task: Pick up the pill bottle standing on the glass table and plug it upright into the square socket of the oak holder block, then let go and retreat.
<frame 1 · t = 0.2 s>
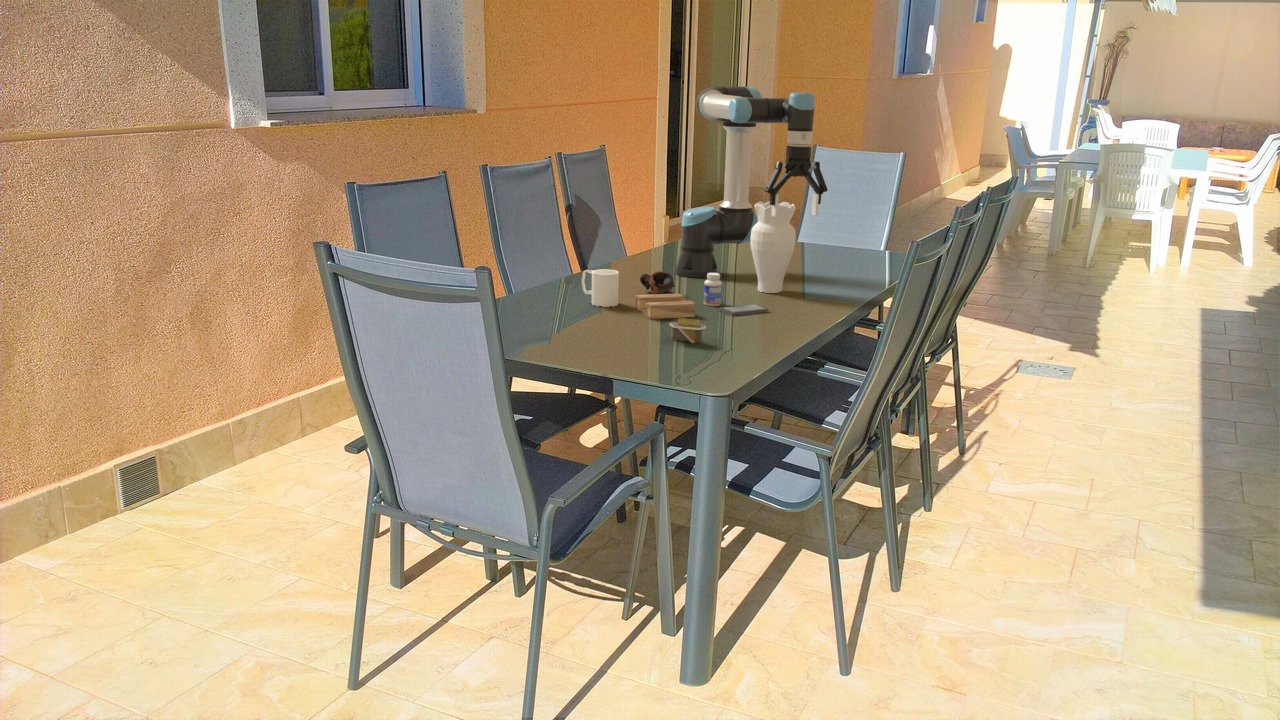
hand: (794, 215, 312), 28 cm above the table, fingers open, 13 cm apart
cup: (599, 303, 313), on the table
pottery mug: (656, 293, 329), on the table
phone slab: (743, 311, 307), on the table
socket holder: (664, 312, 303), on the table
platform: (686, 344, 272), on the table
pill bottle: (712, 305, 315), on the table
vase: (769, 291, 336), on the table
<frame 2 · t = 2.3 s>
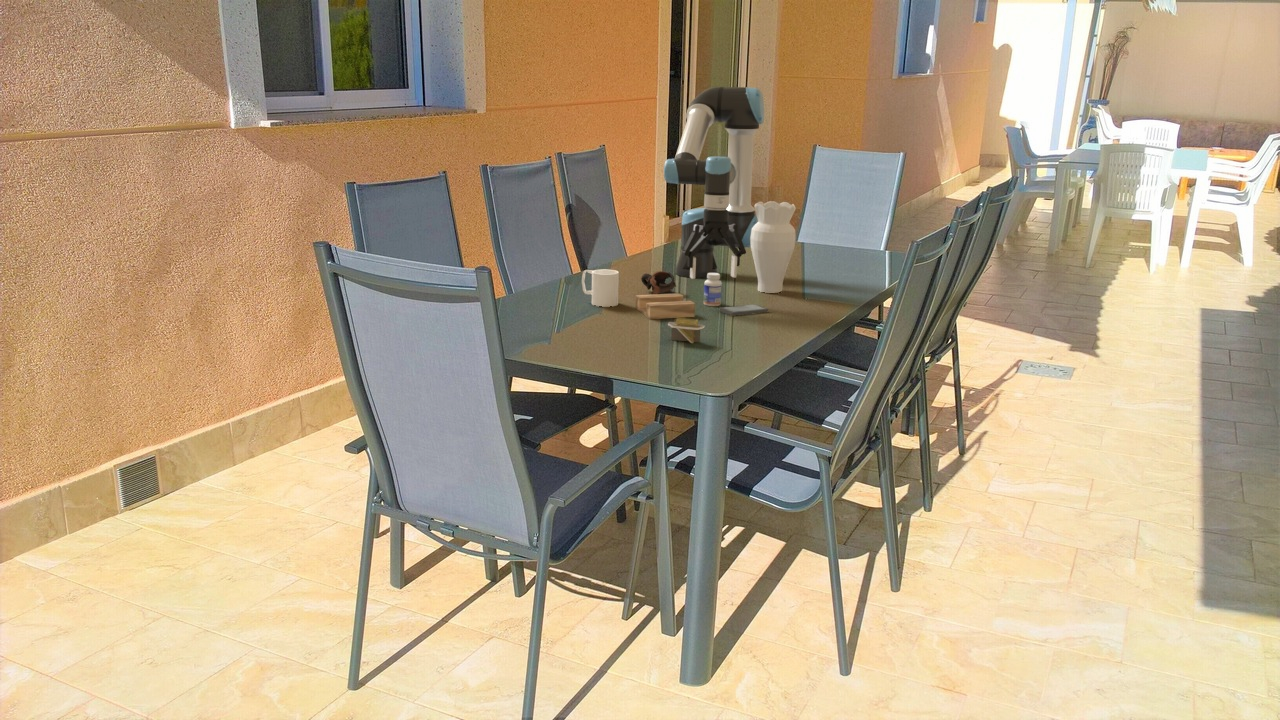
hand: (713, 277, 312), 9 cm above the table, fingers open, 13 cm apart
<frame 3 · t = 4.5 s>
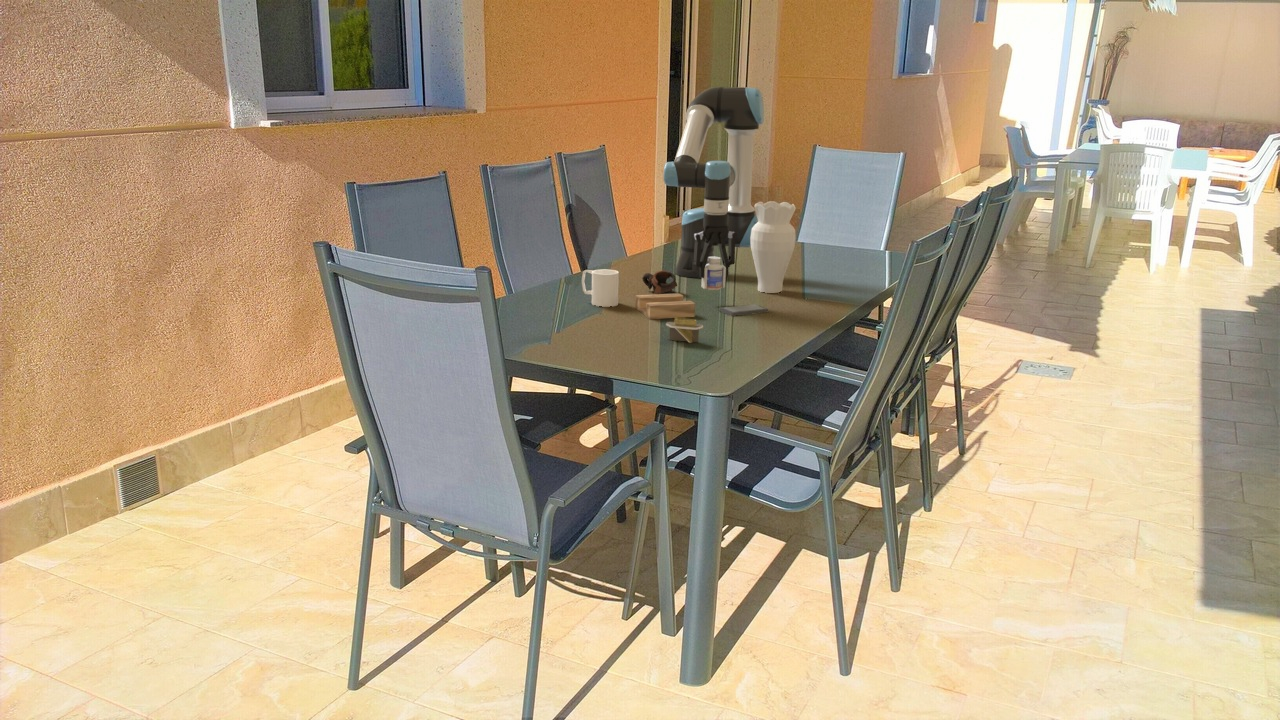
hand: (713, 287, 314), 5 cm above the table, fingers closed on pill bottle, 5 cm apart
pill bottle: (713, 288, 315), point 5 cm above the table, touching gripper
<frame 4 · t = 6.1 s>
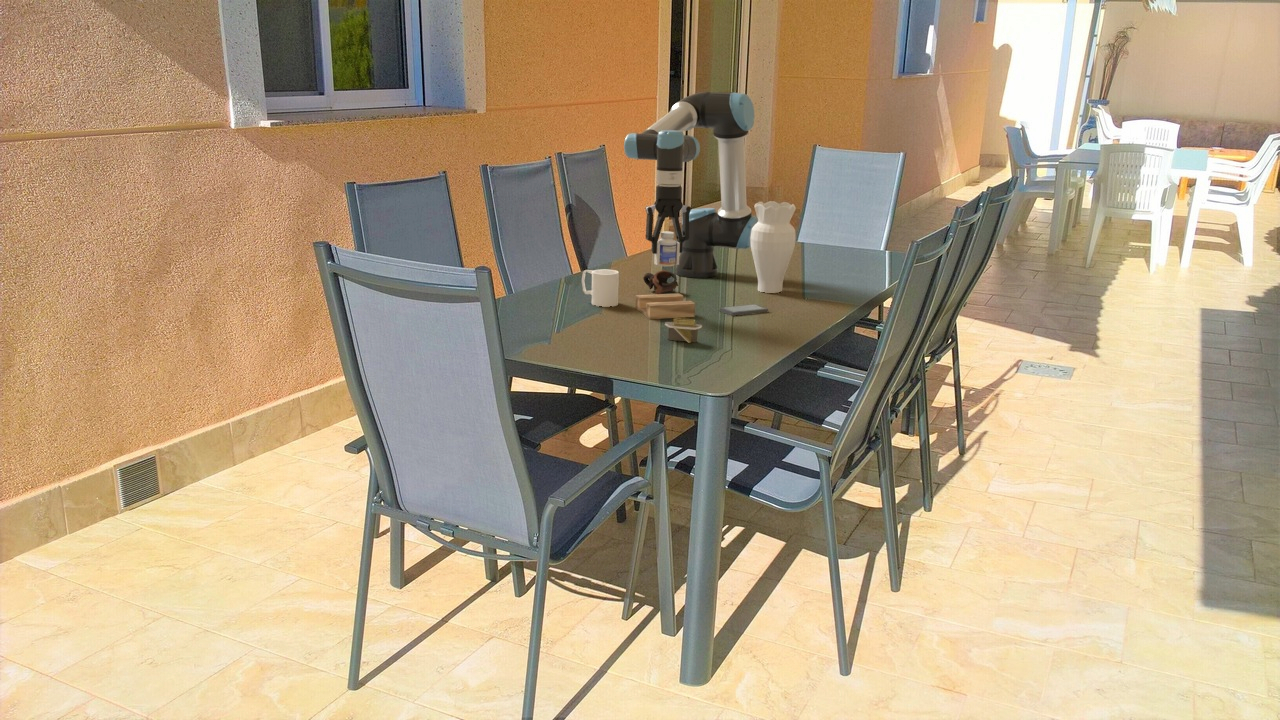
hand: (666, 264, 299), 15 cm above the table, fingers closed on pill bottle, 5 cm apart
pill bottle: (666, 265, 299), point 14 cm above the table, touching gripper
when the fingers open (2 cm above the table, at t = 7.9 s): pill bottle drops 1 cm, resting in socket holder.
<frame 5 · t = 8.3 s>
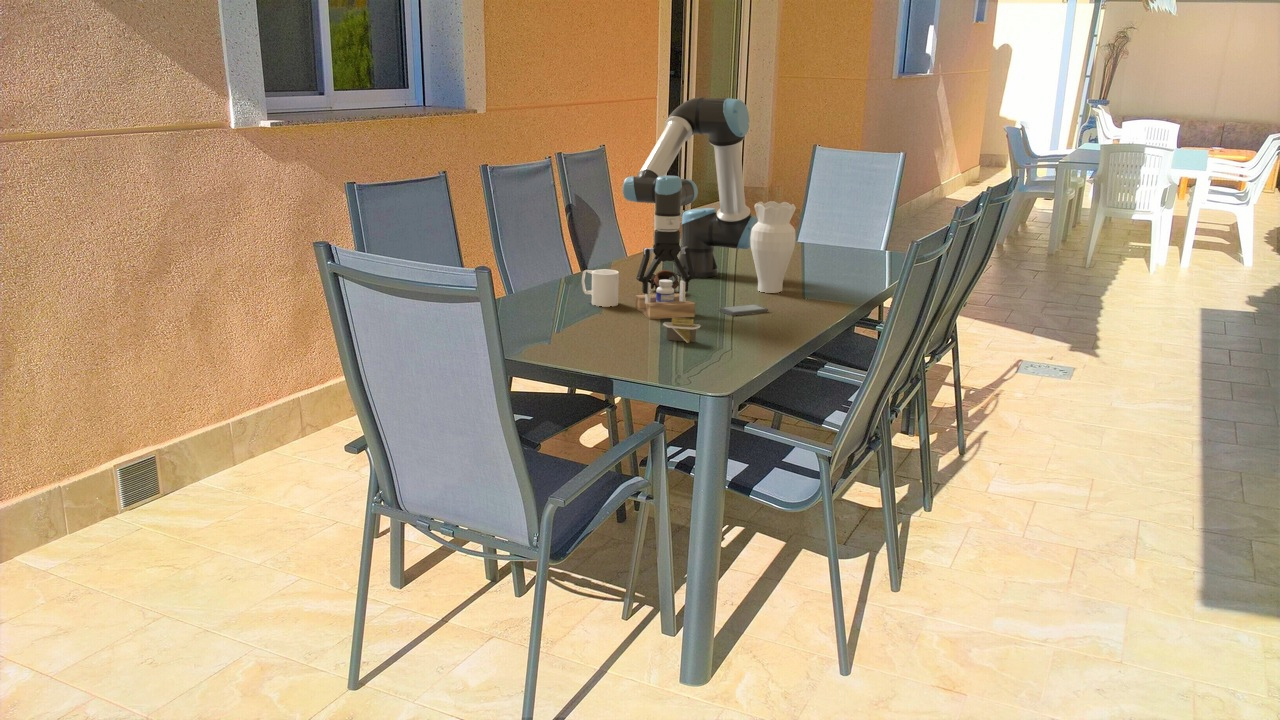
hand: (664, 303, 303), 3 cm above the table, fingers open, 10 cm apart
pill bottle: (664, 313, 304), resting in socket holder
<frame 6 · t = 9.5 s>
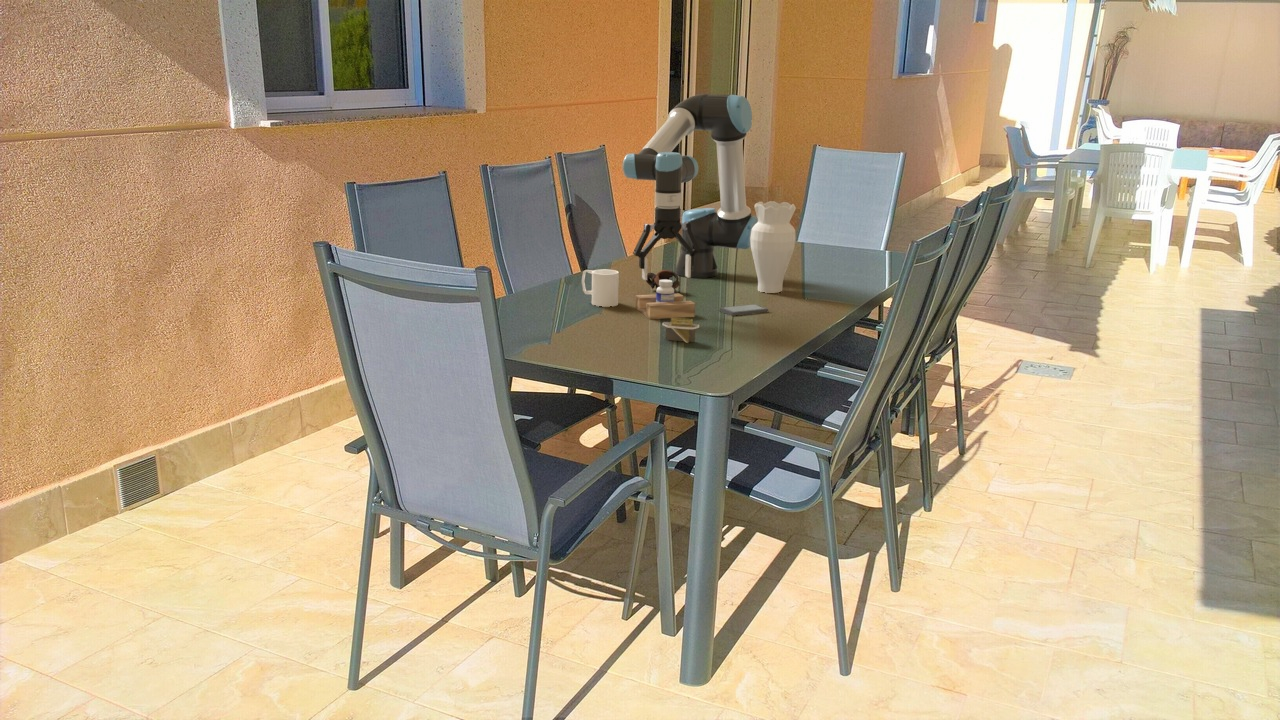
hand: (666, 278, 301), 10 cm above the table, fingers open, 13 cm apart
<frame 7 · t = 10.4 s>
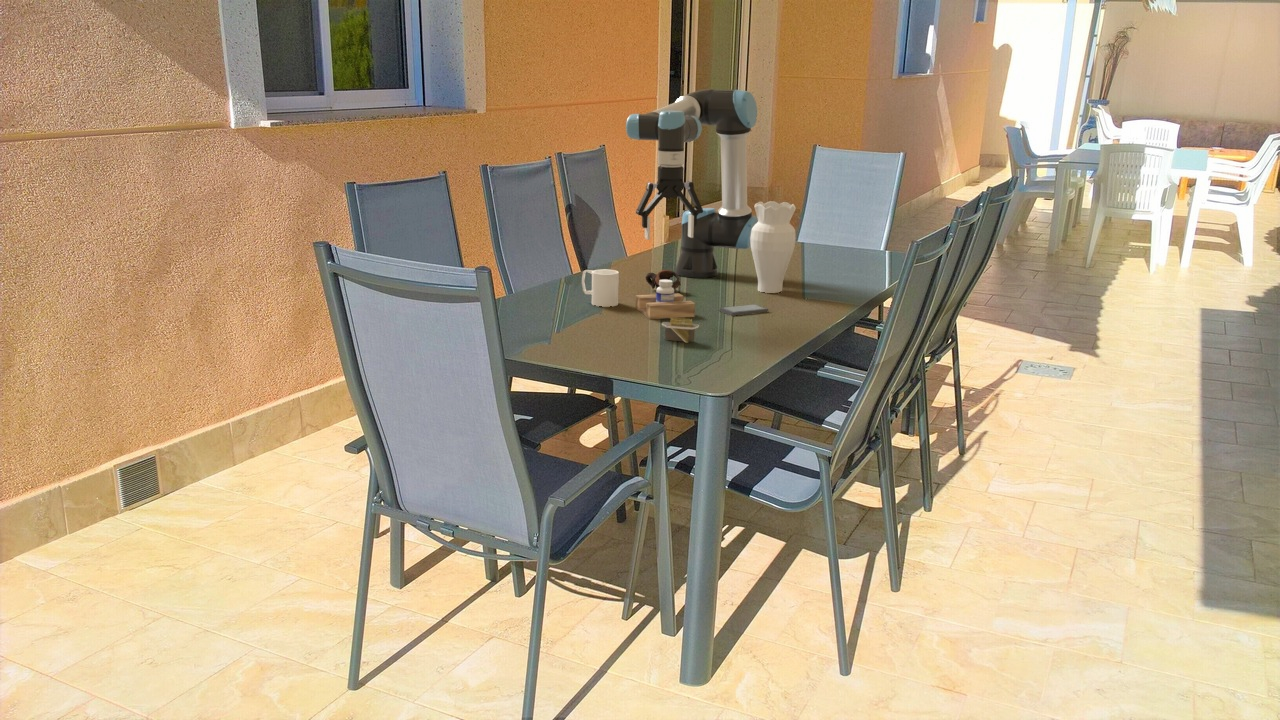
hand: (669, 238, 300), 22 cm above the table, fingers open, 13 cm apart
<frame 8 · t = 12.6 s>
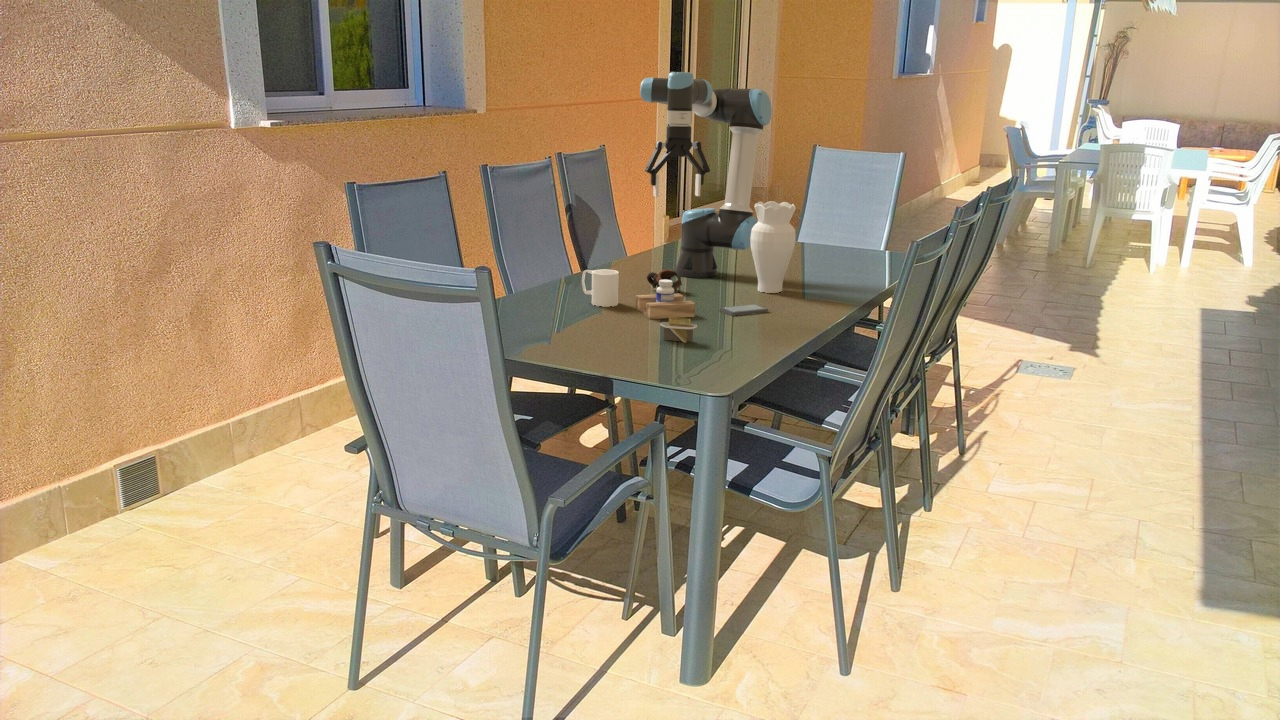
hand: (676, 196, 310), 33 cm above the table, fingers open, 13 cm apart
at the end: pill bottle 0.1 cm off-centre on the socket holder, point 0.0 cm above the socket holder's base; pill bottle tilted 0°; the gripper is holding nothing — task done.
